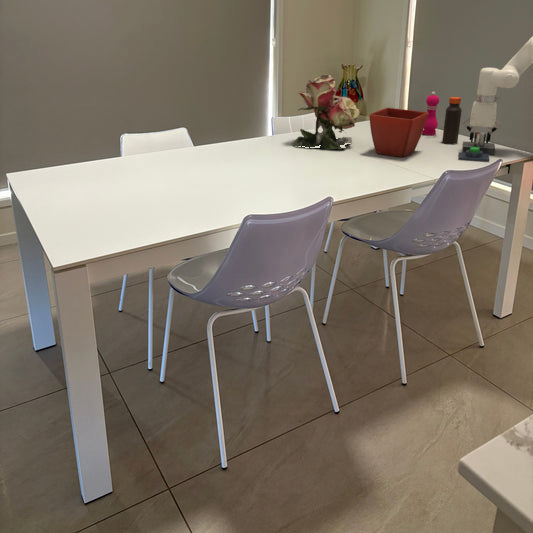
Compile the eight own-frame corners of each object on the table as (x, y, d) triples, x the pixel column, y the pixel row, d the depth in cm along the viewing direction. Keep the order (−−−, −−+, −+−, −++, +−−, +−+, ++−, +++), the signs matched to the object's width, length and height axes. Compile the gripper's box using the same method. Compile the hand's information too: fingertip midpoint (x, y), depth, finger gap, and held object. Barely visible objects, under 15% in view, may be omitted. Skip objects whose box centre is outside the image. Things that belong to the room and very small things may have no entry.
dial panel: (493, 150, 257) (494, 142, 255) (494, 155, 248) (495, 148, 247) (462, 148, 260) (463, 140, 259) (462, 153, 252) (463, 146, 250)
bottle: (460, 142, 270) (466, 97, 261) (452, 145, 265) (458, 99, 257) (446, 140, 274) (452, 96, 265) (439, 142, 269) (444, 97, 261)
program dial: (484, 143, 254) (486, 131, 252) (484, 146, 250) (486, 133, 248) (473, 143, 255) (475, 131, 253) (473, 145, 252) (475, 133, 249)
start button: (478, 151, 244) (479, 147, 244) (478, 153, 241) (479, 149, 240) (469, 150, 245) (470, 146, 245) (469, 153, 242) (470, 148, 241)
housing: (488, 156, 247) (489, 149, 245) (489, 162, 239) (490, 155, 238) (458, 154, 250) (459, 147, 249) (458, 160, 242) (459, 153, 241)
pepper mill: (430, 136, 280) (435, 93, 272) (418, 133, 286) (422, 91, 277) (439, 134, 285) (444, 91, 276) (427, 131, 290) (432, 89, 281)
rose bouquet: (355, 151, 255) (359, 80, 242) (289, 147, 262) (290, 77, 249) (362, 138, 278) (366, 72, 265) (301, 135, 285) (302, 70, 272)
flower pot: (424, 151, 256) (429, 111, 249) (408, 160, 242) (412, 119, 235) (384, 145, 266) (387, 107, 258) (365, 154, 251) (368, 114, 244)
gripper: (507, 98, 246) (500, 141, 253) (464, 96, 250) (458, 139, 258) (508, 101, 239) (501, 145, 247) (464, 99, 244) (458, 143, 251)
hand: (479, 141), depth 252 cm, fingers open, 5 cm apart
